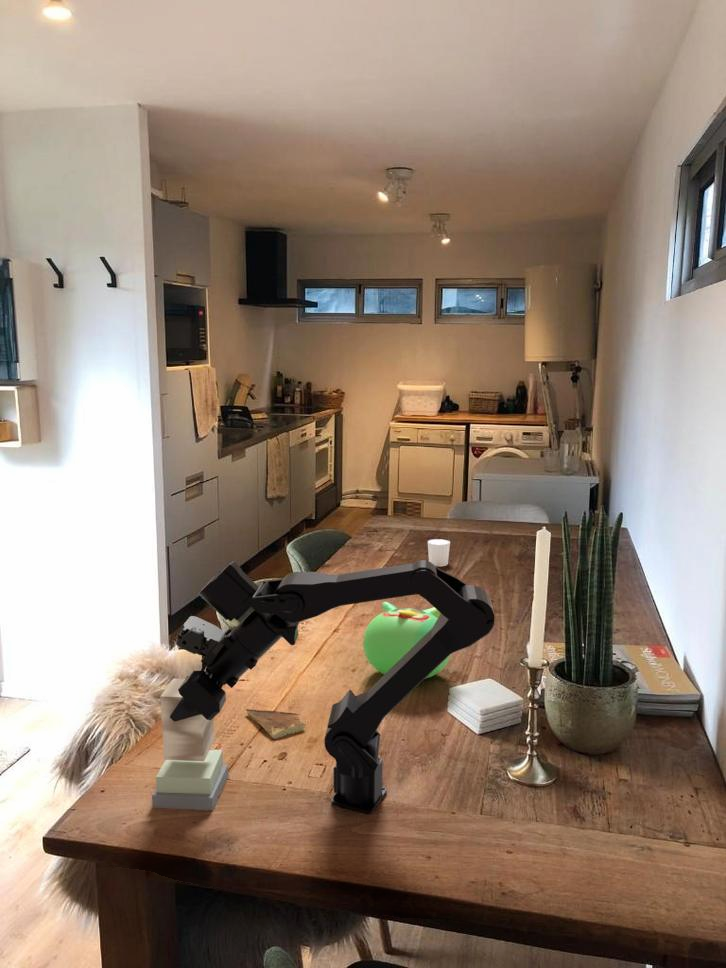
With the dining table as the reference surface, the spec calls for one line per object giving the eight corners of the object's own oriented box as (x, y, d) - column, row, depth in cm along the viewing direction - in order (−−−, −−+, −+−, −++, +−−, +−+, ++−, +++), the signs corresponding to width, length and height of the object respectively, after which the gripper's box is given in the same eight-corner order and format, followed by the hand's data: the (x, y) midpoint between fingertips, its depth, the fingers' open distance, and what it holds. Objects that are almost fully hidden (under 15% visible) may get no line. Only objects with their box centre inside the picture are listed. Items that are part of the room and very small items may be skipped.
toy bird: (352, 685, 152) (351, 614, 149) (379, 652, 168) (379, 588, 165) (440, 699, 146) (441, 626, 143) (460, 664, 162) (462, 598, 159)
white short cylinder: (450, 567, 230) (451, 544, 229) (427, 567, 230) (428, 544, 229) (448, 560, 237) (449, 538, 236) (426, 560, 237) (426, 538, 236)
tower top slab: (222, 764, 120) (222, 750, 120) (210, 794, 112) (210, 778, 112) (172, 763, 120) (171, 748, 120) (156, 792, 113) (156, 776, 112)
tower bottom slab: (228, 779, 120) (228, 764, 120) (212, 813, 112) (212, 798, 111) (172, 776, 121) (172, 762, 121) (152, 810, 112) (151, 795, 112)
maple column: (214, 740, 118) (212, 679, 116) (203, 761, 112) (200, 697, 110) (176, 738, 118) (173, 678, 117) (163, 759, 113) (160, 696, 111)
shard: (245, 716, 140) (245, 707, 140) (283, 706, 144) (283, 697, 144) (271, 742, 131) (271, 733, 131) (311, 730, 135) (311, 721, 135)
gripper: (225, 582, 120) (160, 646, 123) (190, 626, 101) (114, 701, 104) (276, 631, 121) (210, 694, 124) (250, 683, 102) (174, 756, 105)
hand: (178, 708), depth 114 cm, fingers closed on maple column, 6 cm apart
